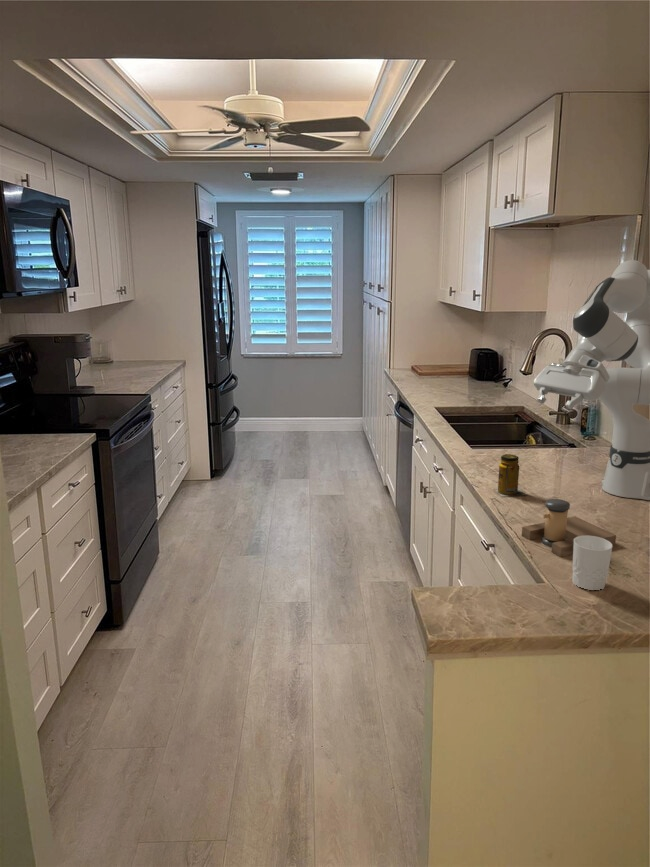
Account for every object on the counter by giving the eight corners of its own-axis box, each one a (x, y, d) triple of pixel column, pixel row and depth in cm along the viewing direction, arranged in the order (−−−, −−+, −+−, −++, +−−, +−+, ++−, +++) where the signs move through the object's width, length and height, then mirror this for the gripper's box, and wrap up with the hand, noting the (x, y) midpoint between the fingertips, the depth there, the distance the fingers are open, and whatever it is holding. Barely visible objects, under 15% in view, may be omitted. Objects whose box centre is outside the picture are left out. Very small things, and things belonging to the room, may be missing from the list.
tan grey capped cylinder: (554, 536, 164) (558, 497, 161) (571, 545, 159) (575, 504, 156) (533, 541, 162) (536, 501, 159) (549, 550, 156) (553, 509, 154)
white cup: (615, 589, 137) (620, 547, 134) (585, 595, 135) (589, 552, 132) (591, 573, 144) (595, 533, 142) (562, 578, 142) (566, 537, 140)
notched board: (574, 524, 172) (574, 516, 171) (615, 544, 159) (616, 535, 159) (521, 535, 165) (522, 526, 164) (560, 557, 153) (561, 547, 152)
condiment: (493, 489, 200) (495, 453, 197) (518, 488, 201) (521, 452, 198) (501, 497, 193) (504, 460, 190) (528, 496, 194) (530, 459, 191)
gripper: (544, 356, 184) (519, 392, 182) (607, 364, 167) (580, 404, 165) (553, 369, 188) (528, 405, 185) (615, 379, 171) (589, 418, 168)
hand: (553, 404), depth 175 cm, fingers open, 8 cm apart
